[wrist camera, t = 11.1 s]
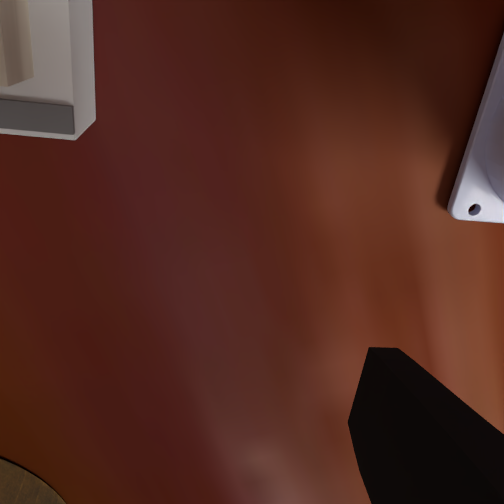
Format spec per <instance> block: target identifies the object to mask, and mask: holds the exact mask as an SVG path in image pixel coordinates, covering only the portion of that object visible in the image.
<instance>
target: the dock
mask: <svg viewBox="0 0 504 504" xmlns="http://www.w3.org/2000/svg"><path fill="white" fill-rule="evenodd" d="M28 9H29V21H30V33H31V45H32V57H33V69H34V77H33V78H30V79H28V80H25V81H22V82H20V83H17V84H14V85H12V86H9V87H4V86H0V133H3V134H14V135H24V136H35V137H46V138H57V139H68V140H76V139H77V138H78V137H79V136H80V135H81V134H82V133H83V132H84V131H85V130H86V129H87V128H88V127H89V126H90V125H91V124H92V123H93V122H94V121H95V120H96V112H95V79H94V46H93V13H92V0H28Z"/></svg>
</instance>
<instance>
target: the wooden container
mask: <svg viewBox="0 0 504 504" xmlns="http://www.w3.org/2000/svg"><path fill="white" fill-rule="evenodd" d="M0 504H66V503H65V502H64V501H63V500H62V498H61V497H60V496H59V495H58V494H57V493H56V492H55V491H54V490H53V489H52V488H51V487H49V486H48V485H47V484H46V483H44V482H43V481H42V480H40V479H39V478H38V477H36V476H34V475H33V474H31V473H29V472H28V471H26V470H24V469H22V468H20V467H18V466H16V465H14V464H12V463H10V462H7V461H5V460H2V459H0Z"/></svg>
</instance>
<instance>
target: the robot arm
mask: <svg viewBox="0 0 504 504" xmlns="http://www.w3.org/2000/svg"><path fill="white" fill-rule="evenodd" d="M473 204H476V207H475V209H474V210H473V211H471V212H468V209H469V208H470V206H472V205H473ZM447 210H448V213H449V214H450V215H451V216H452V217H453V218H455V219H458V220H468V221H481V222H494V223H504V33H503V37H502V40H501V43H500V46H499V49H498V52H497V55H496V58H495V61H494V64H493V67H492V70H491V73H490V77H489V80H488V83H487V86H486V89H485V92H484V95H483V98H482V101H481V104H480V107H479V110H478V113H477V117H476V120H475V123H474V126H473V129H472V132H471V135H470V138H469V141H468V144H467V147H466V150H465V153H464V157H463V160H462V163H461V166H460V169H459V172H458V175H457V178H456V181H455V184H454V187H453V190H452V193H451V197H450V200H449V203H448V207H447ZM348 426H349V430H350V434H351V439H352V443H353V447H354V451H355V455H356V459H357V463H358V467H359V471H360V474H361V476H362V479H363V482H364V485H365V487H366V490H367V493H368V495H369V498H370V501H371V503H372V504H504V434H503V433H501V432H500V431H499V430H497V429H496V428H495V427H494V426H492V425H491V424H490V423H489V422H487V421H486V420H485V419H484V418H483V417H481V416H480V415H479V414H478V413H476V412H475V411H474V410H473V409H472V408H470V407H469V406H468V405H467V404H466V403H464V402H463V401H462V400H461V399H460V398H458V397H457V396H456V395H455V394H454V393H452V392H451V391H450V390H449V389H448V388H446V387H445V386H444V385H443V384H442V383H440V382H439V381H438V380H437V379H436V378H434V377H433V376H432V375H431V374H430V373H429V372H427V371H426V370H425V369H424V368H422V367H421V366H420V365H419V364H418V363H416V362H415V361H414V360H413V359H411V358H410V357H409V356H408V355H406V354H405V353H404V352H402V351H401V350H400V349H398V348H380V347H369V349H368V352H367V356H366V359H365V363H364V366H363V370H362V374H361V377H360V381H359V384H358V388H357V391H356V395H355V398H354V402H353V405H352V409H351V412H350V416H349V419H348Z"/></svg>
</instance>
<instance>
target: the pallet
mask: <svg viewBox="0 0 504 504" xmlns="http://www.w3.org/2000/svg"><path fill="white" fill-rule="evenodd" d="M33 77H34V69H33V57H32V45H31V33H30V21H29V9H28V0H0V86H4V87H9V86H12V85H14V84H17V83H20V82H22V81H25V80H28V79H30V78H33Z"/></svg>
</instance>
